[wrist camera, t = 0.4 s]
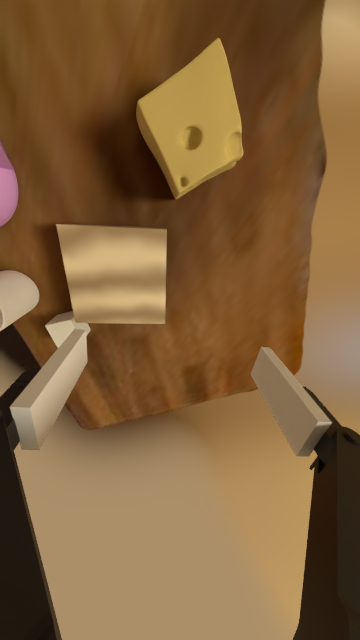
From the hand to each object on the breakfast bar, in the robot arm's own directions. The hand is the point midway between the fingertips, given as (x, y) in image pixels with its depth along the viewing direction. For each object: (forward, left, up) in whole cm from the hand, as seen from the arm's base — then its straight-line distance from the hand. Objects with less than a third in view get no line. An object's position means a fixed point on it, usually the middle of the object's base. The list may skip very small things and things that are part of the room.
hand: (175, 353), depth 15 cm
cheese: (-19, +2, -27) cm, 33 cm away
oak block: (0, -9, -27) cm, 28 cm away
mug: (+5, -31, -27) cm, 41 cm away
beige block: (+11, -20, -27) cm, 35 cm away
